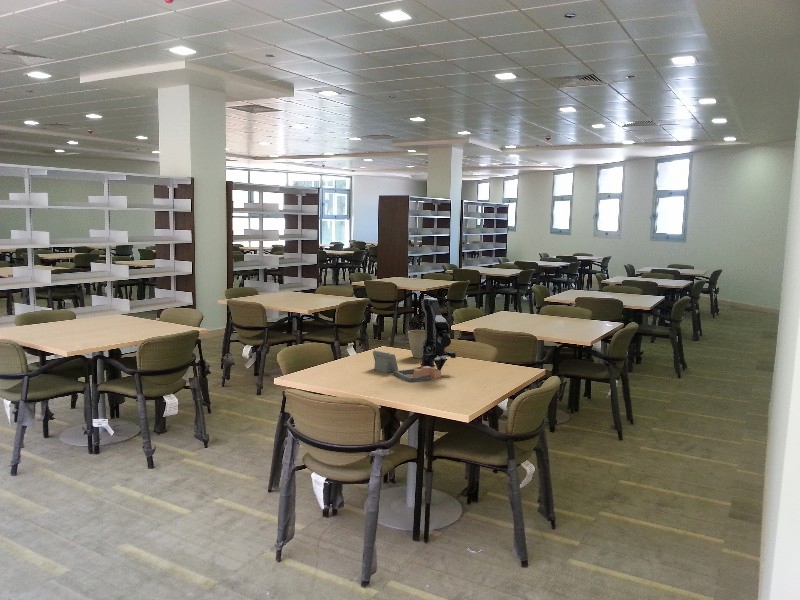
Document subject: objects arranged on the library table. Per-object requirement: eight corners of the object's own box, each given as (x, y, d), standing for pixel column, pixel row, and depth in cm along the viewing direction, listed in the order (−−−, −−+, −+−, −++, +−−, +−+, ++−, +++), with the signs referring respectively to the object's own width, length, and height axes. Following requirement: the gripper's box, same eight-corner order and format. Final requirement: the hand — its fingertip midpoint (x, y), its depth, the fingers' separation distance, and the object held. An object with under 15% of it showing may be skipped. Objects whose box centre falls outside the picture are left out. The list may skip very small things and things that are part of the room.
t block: (427, 372, 355) (427, 366, 355) (440, 377, 344) (441, 370, 344) (409, 374, 349) (409, 367, 349) (422, 379, 338) (422, 373, 338)
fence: (413, 372, 353) (413, 368, 353) (431, 379, 338) (431, 375, 338) (392, 374, 347) (393, 371, 346) (410, 382, 331) (410, 378, 331)
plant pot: (410, 360, 385) (410, 334, 383) (405, 354, 400) (405, 329, 398) (433, 359, 388) (434, 333, 386) (428, 354, 403) (429, 329, 401)
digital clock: (399, 372, 353) (400, 353, 351) (386, 374, 347) (387, 355, 346) (382, 366, 365) (382, 348, 364) (369, 368, 360) (370, 350, 359)
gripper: (445, 339, 361) (444, 366, 363) (417, 342, 351) (416, 369, 353) (457, 343, 351) (456, 370, 353) (429, 345, 342) (428, 374, 343)
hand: (439, 371), depth 351 cm, fingers closed
